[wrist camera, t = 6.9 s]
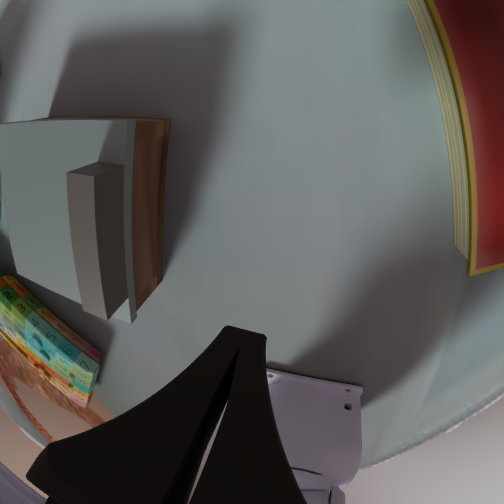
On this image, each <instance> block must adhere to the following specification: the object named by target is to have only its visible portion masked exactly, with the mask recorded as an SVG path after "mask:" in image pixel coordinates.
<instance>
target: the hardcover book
mask: <svg viewBox="0 0 504 504" xmlns="http://www.w3.org/2000/svg"><path fill="white" fill-rule="evenodd" d="M406 1H407V3H408V6H409V8H410V11H411V13H412V15H413V18H414V20H415V23H416V26H417V28H418V31H419V34H420V37H421V39H422V42H423V45H424V48H425V51H426V54H427V58H428V61H429V64H430V68H431V71H432V75H433V78H434V82H435V86H436V90H437V94H438V99H439V103H440V108H441V113H442V118H443V123H444V128H445V134H446V140H447V147H448V154H449V162H450V171H451V182H452V195H453V215H454V245H455V246H456V248H457V249H458V250H459V251H460V252H461V253H462V254H463V256H464V257H465V258H466V259H467V260H468V268H467V274H468V275H469V277H471V276H475V275H479V274H483V273H487V272H491V271H495V270H498V269H502V268H504V0H406Z"/></svg>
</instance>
